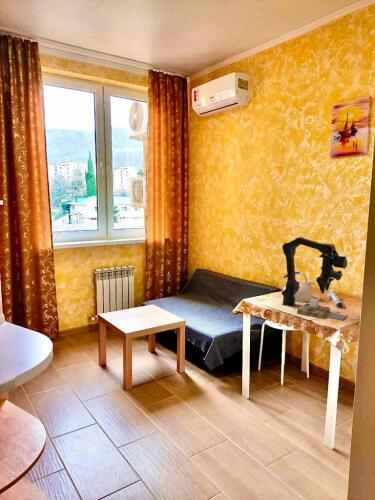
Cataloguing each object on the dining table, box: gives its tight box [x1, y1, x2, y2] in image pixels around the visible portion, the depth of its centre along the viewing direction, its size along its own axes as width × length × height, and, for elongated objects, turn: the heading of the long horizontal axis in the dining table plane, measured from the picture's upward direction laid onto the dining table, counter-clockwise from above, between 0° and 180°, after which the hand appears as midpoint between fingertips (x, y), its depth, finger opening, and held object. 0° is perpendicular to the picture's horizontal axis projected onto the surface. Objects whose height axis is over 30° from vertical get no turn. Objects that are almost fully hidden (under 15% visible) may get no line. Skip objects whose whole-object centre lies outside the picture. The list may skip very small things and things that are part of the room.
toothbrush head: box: [326, 289, 344, 309], centre depth 233 cm, size 5×7×25 cm
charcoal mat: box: [325, 312, 347, 322], centre depth 204 cm, size 9×9×1 cm
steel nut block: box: [308, 297, 320, 312], centre depth 211 cm, size 4×4×8 cm
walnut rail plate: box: [296, 303, 331, 319], centre depth 211 cm, size 14×16×2 cm
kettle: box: [281, 271, 315, 303], centre depth 243 cm, size 20×21×18 cm
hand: (324, 291), depth 210 cm, fingers open, 9 cm apart
